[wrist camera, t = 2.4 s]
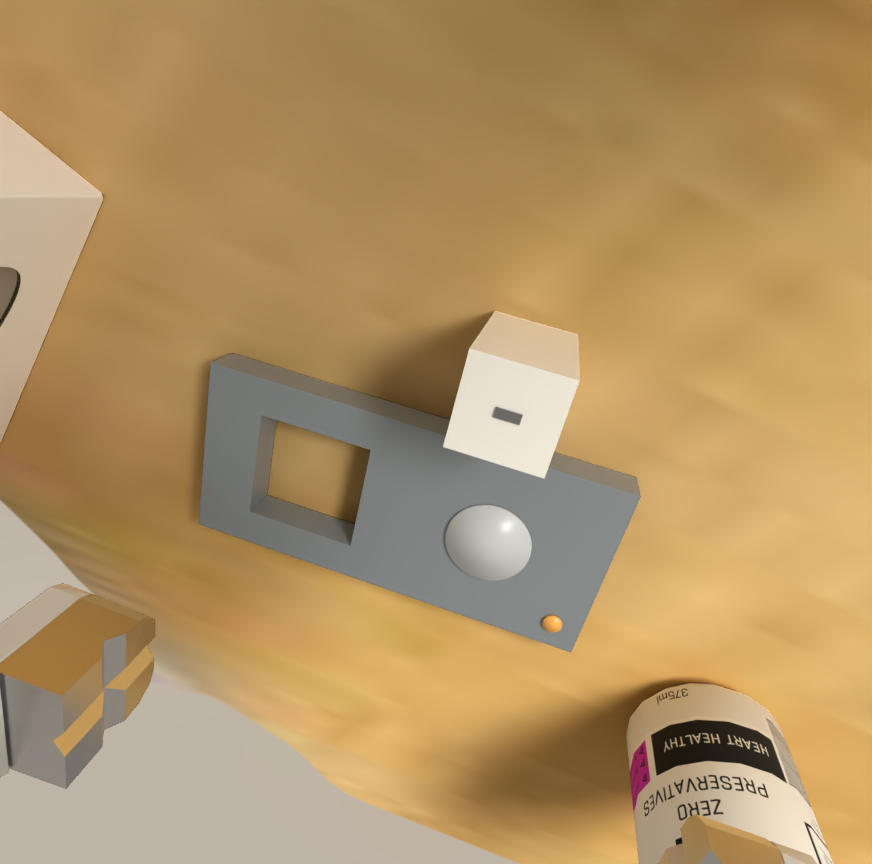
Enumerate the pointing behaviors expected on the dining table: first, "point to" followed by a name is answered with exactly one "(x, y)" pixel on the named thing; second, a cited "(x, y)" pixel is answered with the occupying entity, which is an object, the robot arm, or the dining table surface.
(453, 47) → the dining table surface
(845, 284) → the dining table surface
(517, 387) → the block
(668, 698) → the supplement can
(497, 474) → the power board
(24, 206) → the gable box
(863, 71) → the dining table surface
